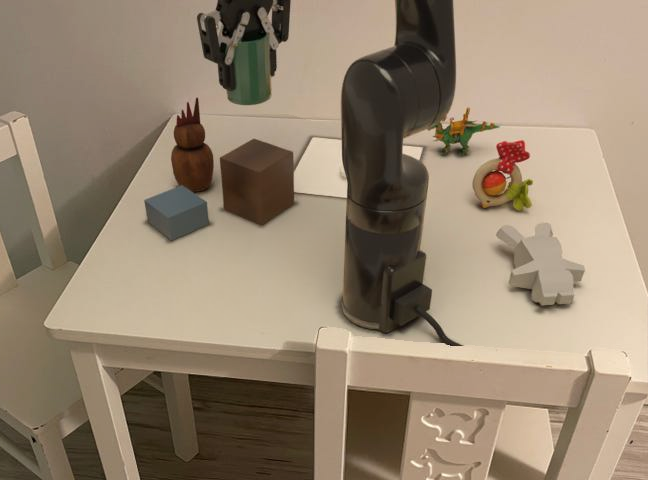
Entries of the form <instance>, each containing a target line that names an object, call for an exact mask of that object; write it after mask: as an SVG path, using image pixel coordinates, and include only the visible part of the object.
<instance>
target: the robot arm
mask: <svg viewBox="0 0 648 480" xmlns="http://www.w3.org/2000/svg"><path fill="white" fill-rule="evenodd" d="M291 2H292V1H291V0H217V2H216V6H215V9H214V10H213V11H210V12H208V13H203V12H199V13H198V14H197V16H196V23H197V27H198V33H199V38H200V44H201V50H202V55H203V58H204V59H205V60H208V61H210V62H212V63H214V64H216V65H217V73H218V84H219V85H220V86H221V87H222V88H223V89H224V90H228V91H233V90H235V78H234V64H233V63H232V61H233V57H234V54H235V51H234V49H235V48H236V47H237V45H238V44H237V43H238V42H241V40H242V38H244V37H247V36H248V35H250V34H258V35H261V36H266V33H270V54H271V78H273V77H275V74H276V72H277V69H278V66H277V65H278V64H277V63H278V62H277V49H278V48H279V45H280V44H281V43H286V42H288V40H289V36H290V35H289V34H290V18H291V16H290V15H291V4H292V3H291ZM454 7H455V6H454V0H394V10H395V35H394V36H395V37H394V45H393V46H390V47H387V48H385V49H382V50H379V51H375V52H373V53H370V54H366V55H364V56H361V57H360V58H357V59H356V60H354V61H353V62H352V63H351V64H350V65H348V66H349V67H348V68H347V70H346V72H345V74H344V78H343V81H342V84H341V92H340V130H341V131H340V132H341V135H340V136H341V138H340V139H341V140H342V162H343V167H344V171H345V175H346V178H347V198H346V207H345V208H346V210H345V227H344V228H345V229H344V230H345V231H344V257H343V278H342V279H343V281H342V286H343V287H342V298H341V310H342V313H343V315H344V316H345V318H347V320H349V321H350V322H352V323H353V324H355V325H357V326H359V327H362V328H365V329H369V330H379V331H381V332H382V333H383V334H388V333H390V332H391V331H394V330H395V329H397V328H399V327H400V326H404V325H405V324H407V323H409V322H411V321H412V320H414V319H417V317H420V316H421V318H422V319H424V320H425V321H426V322H427V323H428V324H429V326H431V327H432V328H433V330H434V331H435V333H436V334H437V336H438V338H439V339H440V341H441V342H443V343H444V344H445V346H447V345H450V346H464V344H460V343H458V342H456V341H454V340H452V339H451V338H449V337H448V336H447V334H446V333H445V332H444V330H443V328H442V326H441V324H439V322H438V321H437V320H436V319H435V318H434V317H433V316H432V315H430V313H428V311H429V310H430V309H431V302H432V296H433V295H432V294H433V289H432V288H430V287H429V286H427V285H425V284H424V278H425V270H426V263H427V253H426V252H425V251H423V250H421V247H422V240H423V239H422V238H423V230H424V222H425V215H426V206H427V199H428V190H429V181H430V176H429V170H428V168H427V166H426V165H425V164H424V163H423V162H422V161H421V160H420V159H419V160H418V159H416V158H414V157H412V156H409V155H406V154H403V146H404V140H405V139H406V138H408V137H409V138H410V136H414V135H417V134H418V133H421V132H424V131H426V130H427V129H428V128H431V127H433V126H435V125H436V124H438V123H439V122H440V123H442V122H443V121H444V118H445V117H446V116H447V117H448V114H449V112H450V111H451V109H452V107H453V103H454V100H455V95H456V89H457V87H456V86H457V55H456V54H457V53H456V50H457V49H456V31H455V30H456V29H455V11H454V9H455V8H454ZM270 13H271V21H270V19H269V14H270ZM219 22H220V23H221V25H220V26H219ZM218 30H219V32H218ZM229 33H230V34H231V35H233V36H232V38H231V39H230V38H229ZM225 43H226V44H227V49H226V52H225ZM447 117H446V118H447ZM442 120H443V121H442Z"/></svg>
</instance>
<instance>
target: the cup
mask: <svg viewBox="0 0 648 480" xmlns="http://www.w3.org/2000/svg"><path fill="white" fill-rule="evenodd" d="M232 36H233V35H231V34H230V33H229V38H230V39H231V38H232ZM237 44H238V45H237V47H236V48H235V49H234V51H235V54H234V57H233V61H232V63H233V64H234V78H235V90H233V91H228V90H226V89H225V90H226V96H227V97H226V98H227V101H229V102H230V103H232V104H235V105H238V106H255V105H260V104H263V103H265V102H267V101H269V100H270V99H271V98H272V92H273V91H272V90H273V88H272V87H273V86H272V84H273V83H272V77H271V54H270V33H266V36H261V35H258V34H250V35H248V36H247V37H244V38H242V40H241V42H238V43H237ZM226 49H227V44H226V43H225V52H226Z"/></svg>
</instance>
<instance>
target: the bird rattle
mask: <svg viewBox="0 0 648 480" xmlns="http://www.w3.org/2000/svg"><path fill="white" fill-rule="evenodd" d="M496 151H497V155H498V158H493V159H489V160H488V161H486V162H484V163H483V164H481V166H479V168H478V169H477V170H476V171H475V173H474V175H473V178H472V190H473V192H474V196H475V197H476V199H477V200H478V201H480V204H481V207H482V208H483V209H487V208H489V207H491V206H493V207H494V206H495V207H496V206H500V205H505V204H506V203H508V202H510V201H512V200H513V209H514V210H515V211H518V212H520V211H522V210H523V209H524V208H526V209H529V208H532V206H533V205H532V201H531V199H530V197H529V196H528V195H529V187H530V186H532V185H534V181H533V179H530V178H528V179H525V180H523V175H522V172H521V170H520V168H519V166H518V165H517V163H522V162H525V161H527V160H529V159H530V157H531V153H530V152H528V151H527V150H526V142H525V140H523V139H521V140H516V141H513V142H512V141H511V142H510V141H506V140H504V141H501V142H498V143H496ZM505 174H506V175H508V176H507V177H506V176H505ZM507 179H510V181H509V182H508V185H507ZM506 187H507V188H506Z"/></svg>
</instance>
